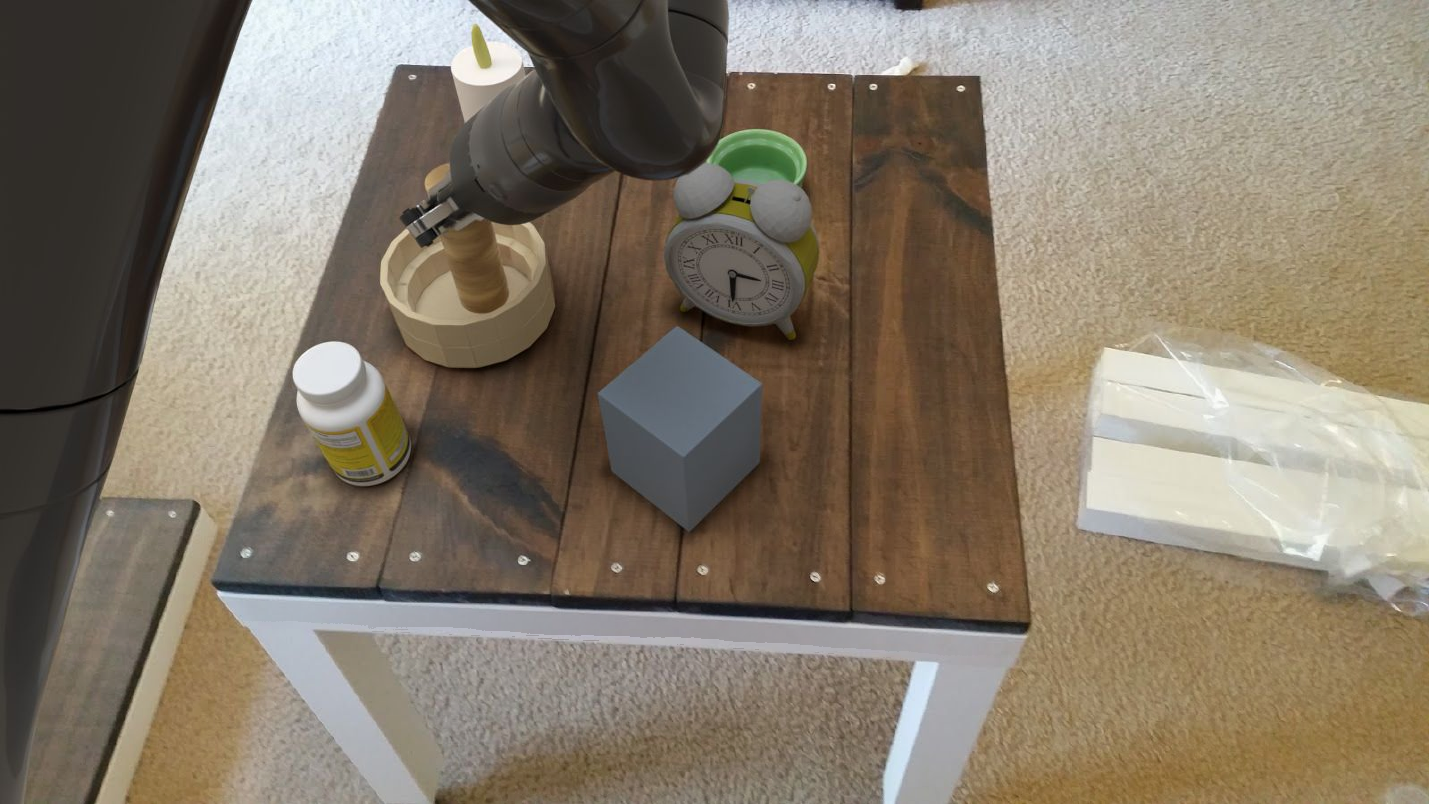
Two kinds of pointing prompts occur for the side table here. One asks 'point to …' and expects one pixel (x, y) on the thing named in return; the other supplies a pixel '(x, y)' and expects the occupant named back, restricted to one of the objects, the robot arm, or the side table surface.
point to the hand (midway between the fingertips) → (446, 208)
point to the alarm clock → (741, 247)
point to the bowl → (435, 310)
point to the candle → (484, 72)
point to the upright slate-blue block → (682, 426)
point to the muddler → (473, 260)
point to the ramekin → (761, 156)
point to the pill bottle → (350, 414)
